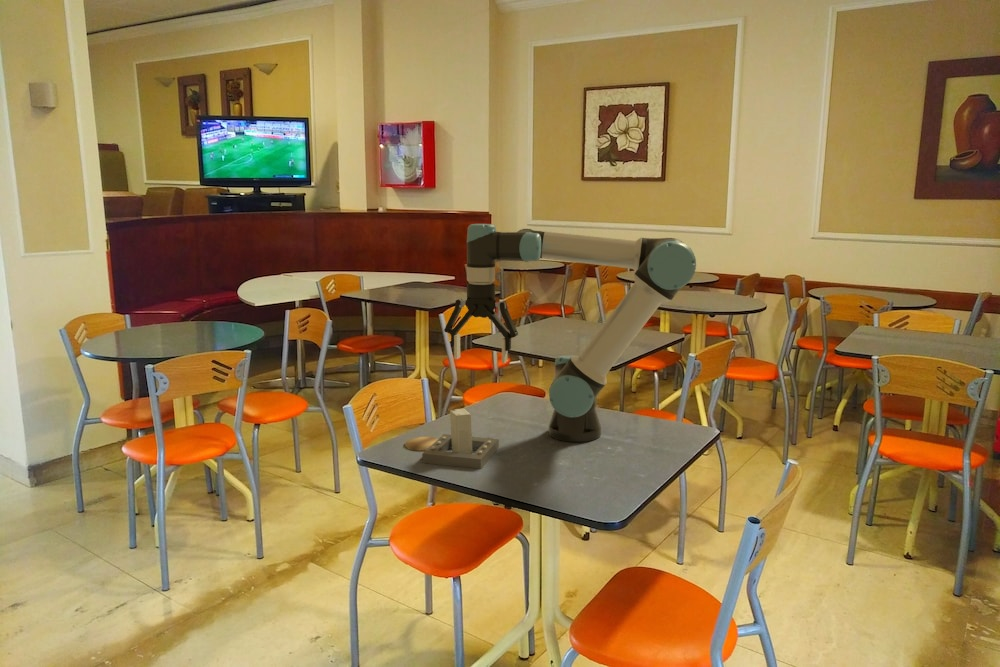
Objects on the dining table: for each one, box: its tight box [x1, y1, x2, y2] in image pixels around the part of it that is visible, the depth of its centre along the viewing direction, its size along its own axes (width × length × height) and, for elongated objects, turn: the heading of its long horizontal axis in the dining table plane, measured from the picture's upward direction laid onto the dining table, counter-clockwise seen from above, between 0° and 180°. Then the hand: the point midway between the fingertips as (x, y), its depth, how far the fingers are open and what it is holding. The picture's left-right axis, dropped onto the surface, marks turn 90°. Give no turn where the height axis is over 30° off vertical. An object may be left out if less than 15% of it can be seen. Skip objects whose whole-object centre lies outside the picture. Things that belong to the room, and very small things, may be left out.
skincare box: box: [449, 408, 474, 454], centre depth 198 cm, size 6×4×12 cm
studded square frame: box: [422, 434, 500, 469], centre depth 199 cm, size 16×16×3 cm
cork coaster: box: [404, 436, 439, 452], centre depth 207 cm, size 10×10×1 cm
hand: (480, 360), depth 202 cm, fingers open, 13 cm apart
